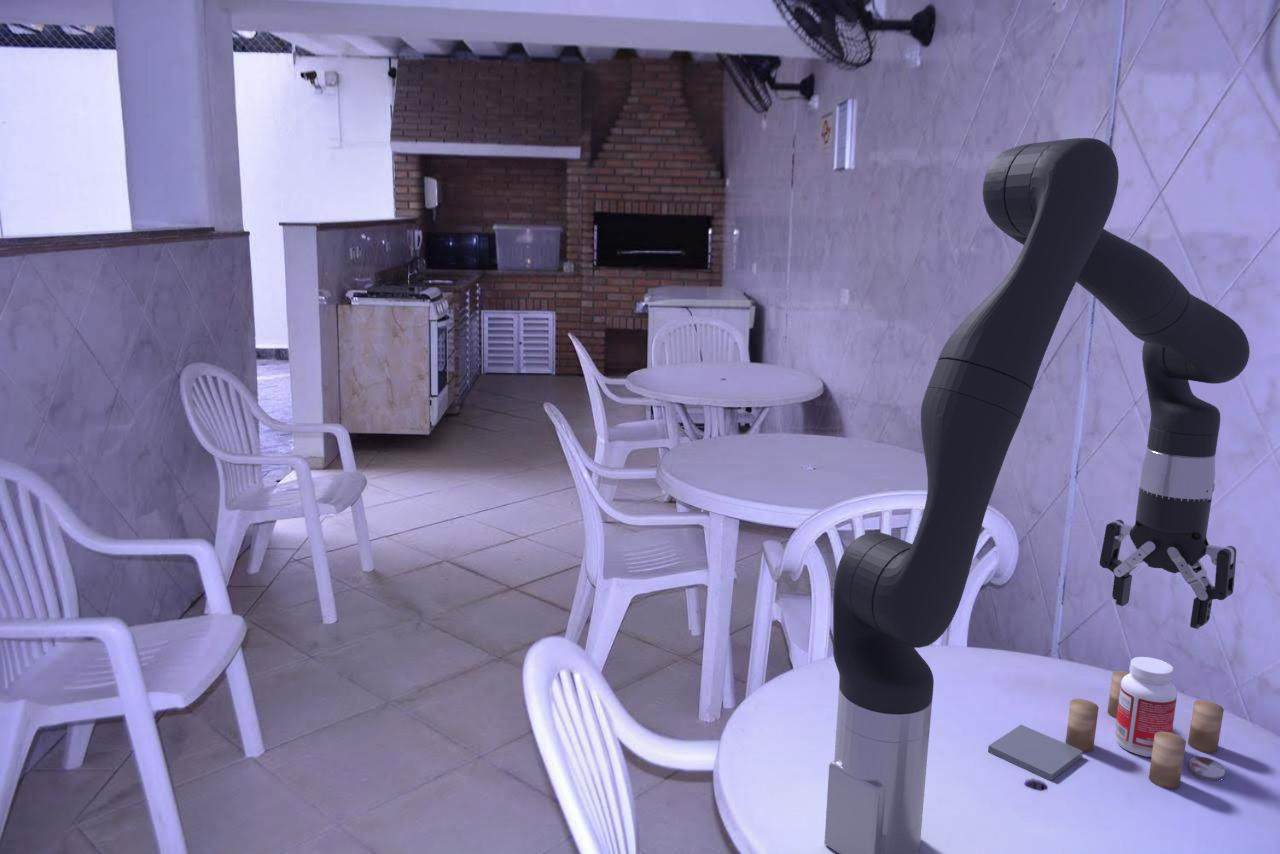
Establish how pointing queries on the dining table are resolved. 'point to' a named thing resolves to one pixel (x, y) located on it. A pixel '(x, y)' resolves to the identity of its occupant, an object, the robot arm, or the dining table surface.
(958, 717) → the dining table surface
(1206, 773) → the shiny metal disc
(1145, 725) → the pill bottle
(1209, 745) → the cylinder
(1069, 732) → the cylinder
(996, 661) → the dining table surface
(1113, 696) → the cylinder
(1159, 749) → the cylinder
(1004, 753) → the slate coaster
